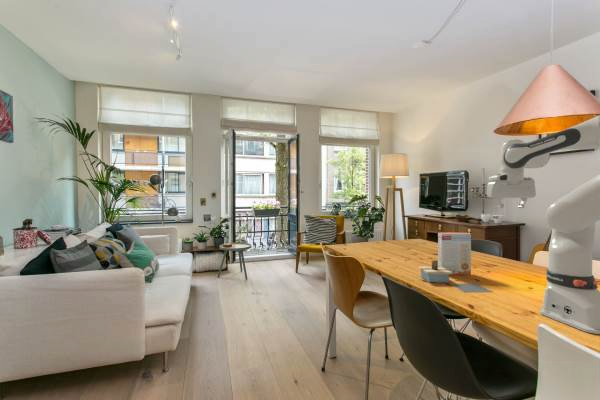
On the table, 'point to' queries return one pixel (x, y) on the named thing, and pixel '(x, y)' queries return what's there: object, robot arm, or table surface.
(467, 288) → the mat
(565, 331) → the table surface
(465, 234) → the cracker box
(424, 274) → the blue square tray
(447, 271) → the lid
